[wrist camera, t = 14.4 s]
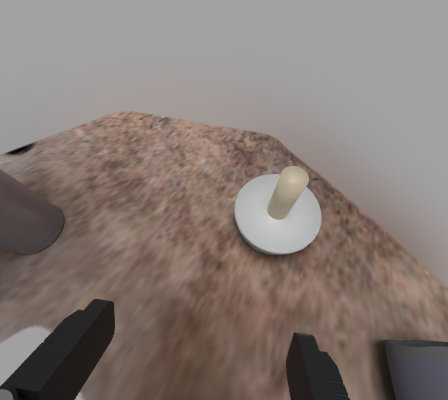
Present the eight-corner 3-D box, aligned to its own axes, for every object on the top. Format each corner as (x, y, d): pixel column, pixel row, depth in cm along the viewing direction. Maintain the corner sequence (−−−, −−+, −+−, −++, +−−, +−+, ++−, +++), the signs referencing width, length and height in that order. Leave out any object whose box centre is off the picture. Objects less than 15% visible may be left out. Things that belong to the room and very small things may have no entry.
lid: (222, 237, 33) (222, 208, 24) (248, 168, 38) (255, 124, 30) (311, 267, 31) (347, 248, 22) (324, 190, 37) (356, 150, 28)
